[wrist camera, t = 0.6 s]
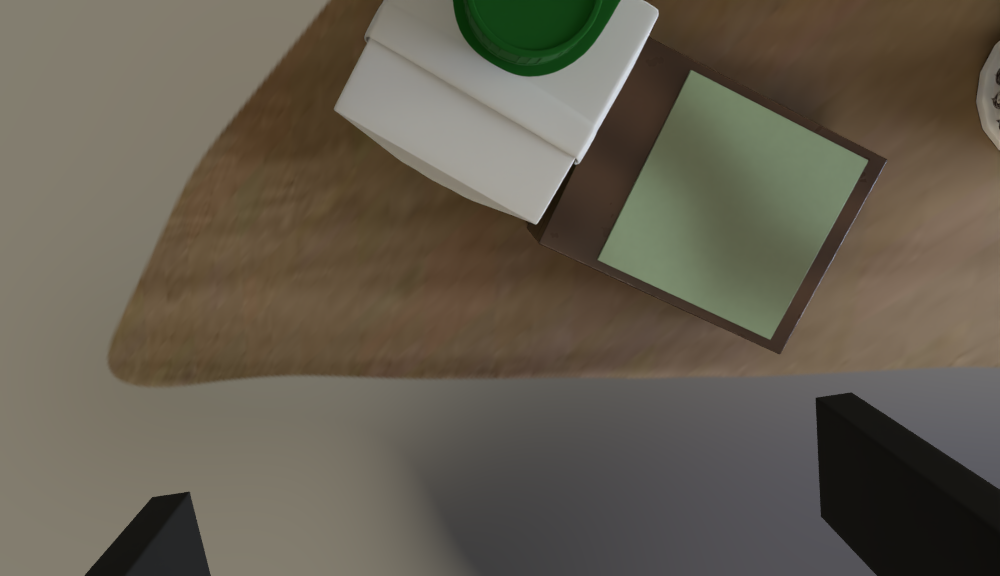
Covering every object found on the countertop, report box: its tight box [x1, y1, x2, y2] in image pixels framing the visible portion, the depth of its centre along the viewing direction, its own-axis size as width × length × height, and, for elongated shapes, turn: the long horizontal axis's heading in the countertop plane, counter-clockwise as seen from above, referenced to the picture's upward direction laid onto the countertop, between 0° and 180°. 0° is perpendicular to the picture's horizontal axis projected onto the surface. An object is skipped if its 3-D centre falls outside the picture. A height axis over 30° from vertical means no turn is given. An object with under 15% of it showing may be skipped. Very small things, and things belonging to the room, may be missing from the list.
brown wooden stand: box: [527, 37, 887, 354], centre depth 38 cm, size 11×14×7 cm
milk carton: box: [334, 0, 659, 224], centre depth 30 cm, size 9×9×20 cm
